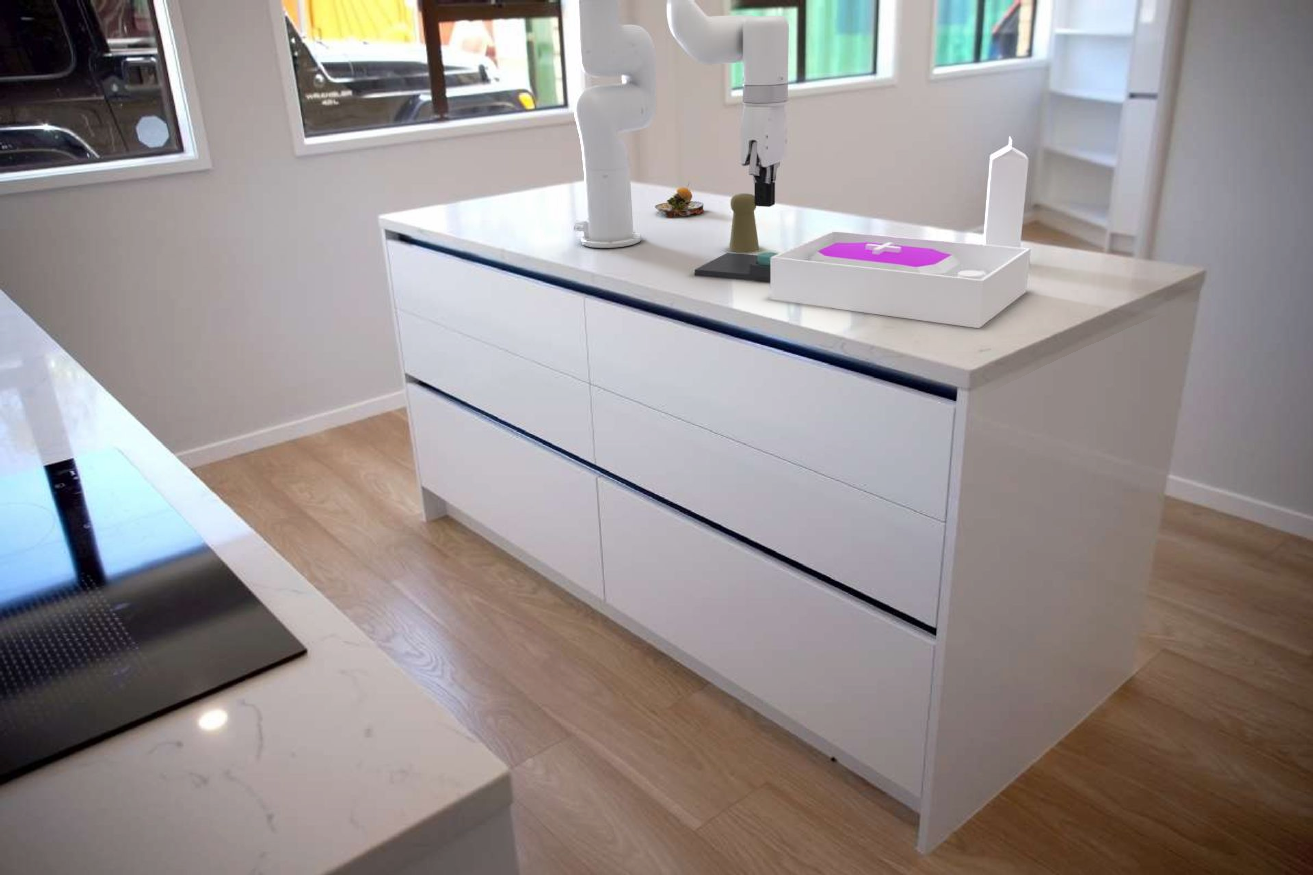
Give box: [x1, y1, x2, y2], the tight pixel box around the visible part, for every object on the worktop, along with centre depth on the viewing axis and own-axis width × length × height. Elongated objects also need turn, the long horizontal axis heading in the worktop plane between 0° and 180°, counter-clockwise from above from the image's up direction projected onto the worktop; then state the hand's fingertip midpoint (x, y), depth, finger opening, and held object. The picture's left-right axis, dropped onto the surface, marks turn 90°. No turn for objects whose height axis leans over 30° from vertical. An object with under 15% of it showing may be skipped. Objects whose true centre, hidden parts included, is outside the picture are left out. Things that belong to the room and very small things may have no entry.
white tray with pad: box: [770, 230, 1032, 329], centre depth 162 cm, size 22×35×7 cm, turn 54°
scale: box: [693, 252, 771, 283], centre depth 183 cm, size 17×15×3 cm
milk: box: [982, 135, 1030, 248], centre depth 175 cm, size 6×6×22 cm
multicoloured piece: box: [654, 181, 705, 218], centre depth 237 cm, size 12×12×8 cm
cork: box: [728, 193, 760, 254], centre depth 198 cm, size 6×6×11 cm
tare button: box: [757, 251, 778, 265], centre depth 177 cm, size 4×4×2 cm
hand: (764, 205), depth 175 cm, fingers closed
